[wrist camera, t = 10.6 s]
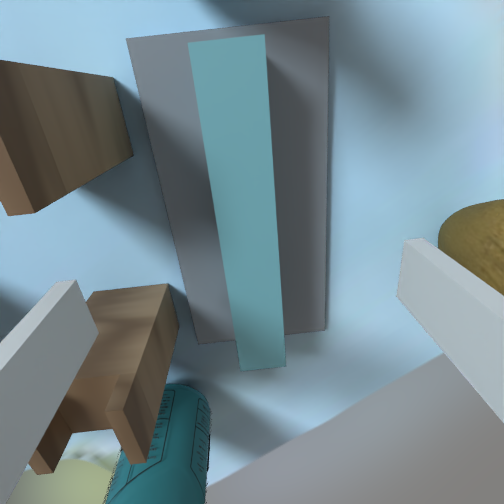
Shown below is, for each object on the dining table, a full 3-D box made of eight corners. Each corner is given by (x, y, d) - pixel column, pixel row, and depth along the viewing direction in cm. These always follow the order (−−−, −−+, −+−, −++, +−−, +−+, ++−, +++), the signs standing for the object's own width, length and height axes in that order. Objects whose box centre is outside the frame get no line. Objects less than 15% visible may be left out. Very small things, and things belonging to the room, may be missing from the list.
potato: (439, 302, 24) (524, 388, 17) (373, 252, 22) (440, 328, 15) (518, 236, 22) (655, 304, 15) (454, 173, 19) (580, 217, 12)
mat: (199, 339, 25) (198, 344, 24) (129, 40, 15) (125, 38, 15) (322, 325, 25) (324, 330, 24) (325, 18, 15) (329, 16, 15)
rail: (239, 329, 24) (240, 371, 20) (198, 55, 15) (187, 42, 12) (278, 325, 24) (286, 366, 20) (257, 48, 15) (264, 34, 12)
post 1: (42, 165, 18) (-147, 233, 9) (11, 88, 16) (-263, 79, 7) (133, 155, 18) (34, 213, 9) (112, 77, 16) (-36, 53, 7)
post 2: (110, 333, 24) (37, 474, 15) (93, 291, 22) (-2, 423, 13) (179, 326, 24) (146, 462, 15) (167, 283, 22) (122, 409, 13)
